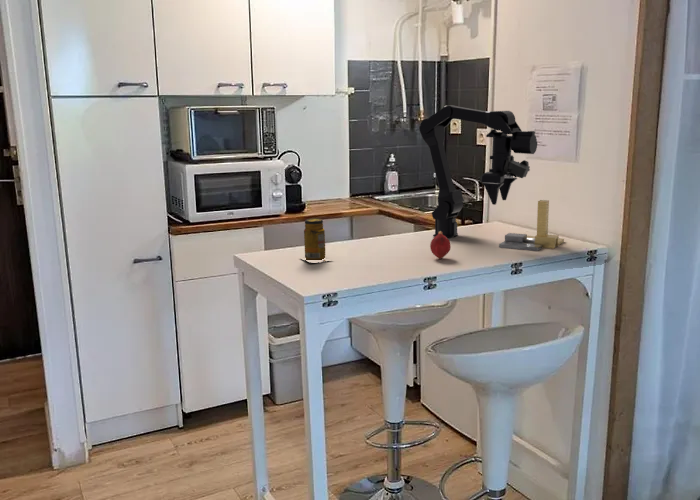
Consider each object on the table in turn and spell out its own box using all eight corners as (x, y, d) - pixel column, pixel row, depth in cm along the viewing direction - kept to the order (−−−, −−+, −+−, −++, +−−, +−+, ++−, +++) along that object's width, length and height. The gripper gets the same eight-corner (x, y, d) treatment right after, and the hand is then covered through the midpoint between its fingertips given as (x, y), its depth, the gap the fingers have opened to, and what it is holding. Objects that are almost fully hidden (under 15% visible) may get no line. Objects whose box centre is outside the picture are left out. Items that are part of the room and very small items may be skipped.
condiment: (321, 256, 199) (320, 216, 197) (333, 261, 192) (331, 221, 189) (299, 259, 196) (297, 219, 194) (310, 265, 189) (308, 223, 186)
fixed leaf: (499, 247, 203) (499, 238, 202) (509, 241, 210) (509, 232, 210) (548, 251, 195) (548, 242, 194) (556, 245, 203) (557, 236, 202)
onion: (451, 260, 188) (451, 233, 186) (431, 261, 188) (431, 233, 187) (449, 256, 194) (449, 229, 192) (429, 256, 194) (429, 229, 192)
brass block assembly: (515, 245, 205) (516, 200, 202) (526, 238, 214) (527, 195, 211) (554, 248, 199) (556, 202, 196) (563, 241, 207) (565, 197, 204)
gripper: (517, 156, 192) (514, 209, 196) (536, 151, 208) (533, 200, 211) (481, 154, 198) (479, 206, 202) (502, 149, 213) (499, 197, 217)
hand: (499, 202), depth 208 cm, fingers open, 9 cm apart
